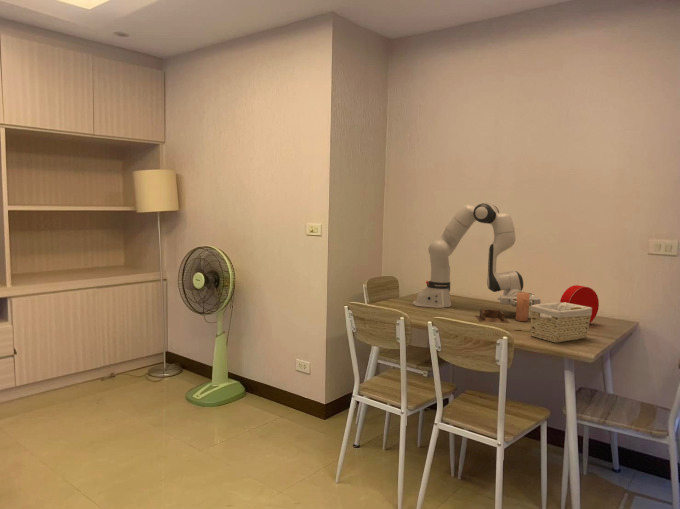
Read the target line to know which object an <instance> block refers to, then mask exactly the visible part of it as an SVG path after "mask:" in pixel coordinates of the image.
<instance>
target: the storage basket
mask: <svg viewBox="0 0 680 509" xmlns="http://www.w3.org/2000/svg"><path fill="white" fill-rule="evenodd" d="M529 309H530V310H529V311H530V336H532V337H535V338H537V339H541V340H544V341H548V342H552V343H564V342H568V341H569V342H570V341H578V340H583V339H586V338H587V337H588V332H589V328H590V327H589V326H590V324H591V323H590V318H591V315H592V308H591V307H586V306H581V305H576V304H570V303H566V302H564V303H560V302H548V303H540V304H536V305H532V306H530V308H529ZM589 323H590V324H589Z"/></svg>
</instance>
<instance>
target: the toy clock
mask: <svg viewBox="0 0 680 509" xmlns="http://www.w3.org/2000/svg"><path fill="white" fill-rule="evenodd" d="M564 302H566V303H570V304H576V305H581V306H586V307H591V308H592V315H591V318H590V323H589V325H590V324H591V323H592V322H593V321H594V320H595V319H596V316H597V314H598V311H599V307H600V304H599V303H600V300H599V296H598V294H597V292H596V291H595V290H594V289H593V288H591V287H588V286H584V285H583V286H582V285H578V284H577V285H572V286H569V287H568V288H567V289H566V290H565V291H564V292H563V294H562V295H561V298H560V301H559V303H564Z"/></svg>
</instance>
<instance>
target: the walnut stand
mask: <svg viewBox="0 0 680 509" xmlns="http://www.w3.org/2000/svg"><path fill="white" fill-rule="evenodd" d="M474 317H475V318H476V320H477V321H478V322H479V323H498V324H500V323H501V324H511V323H510V321H509V320H508V319H506V317H505V312H503V311H502V310H501V309H492V308H491V309H486V308H479V315H474Z"/></svg>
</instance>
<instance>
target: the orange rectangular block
mask: <svg viewBox="0 0 680 509" xmlns="http://www.w3.org/2000/svg"><path fill="white" fill-rule="evenodd" d="M530 293H531V292H526V291H522V292H517V305H516V307H515V320H516V321H518V322H528V321H529V311H530V310H529V309H530V308H529V307H530V306H529V297H530Z"/></svg>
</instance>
